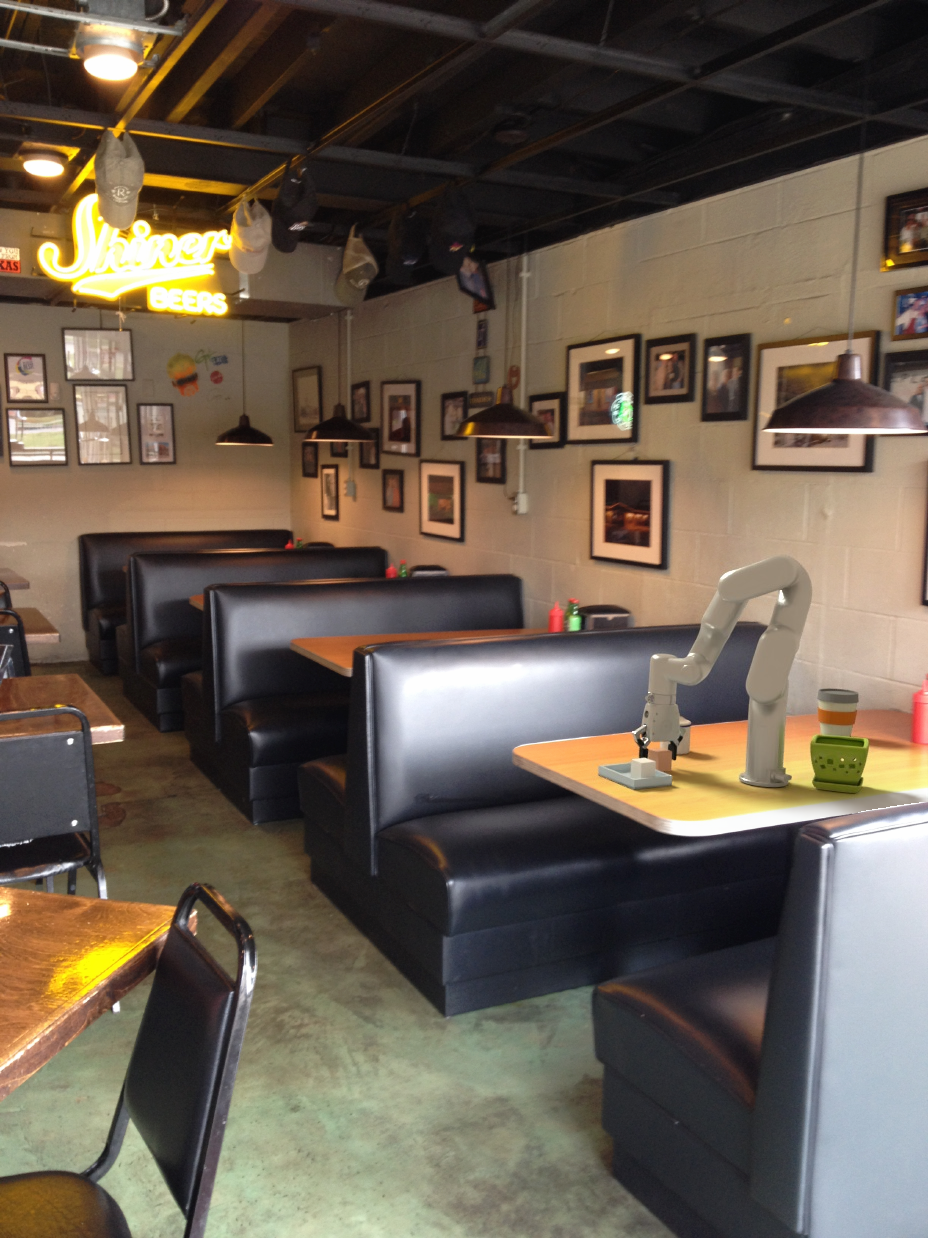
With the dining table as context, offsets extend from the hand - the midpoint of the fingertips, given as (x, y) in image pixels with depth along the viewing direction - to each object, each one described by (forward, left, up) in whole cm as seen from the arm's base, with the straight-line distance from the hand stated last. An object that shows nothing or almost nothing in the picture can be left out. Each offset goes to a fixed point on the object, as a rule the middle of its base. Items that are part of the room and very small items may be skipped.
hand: (657, 760), depth 280 cm
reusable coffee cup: (+13, -81, -3) cm, 83 cm away
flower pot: (-34, -32, -3) cm, 47 cm away
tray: (-8, +13, -3) cm, 15 cm away
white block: (-11, +13, -2) cm, 17 cm away
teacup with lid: (+18, -18, -3) cm, 26 cm away
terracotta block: (-1, 0, -3) cm, 3 cm away
